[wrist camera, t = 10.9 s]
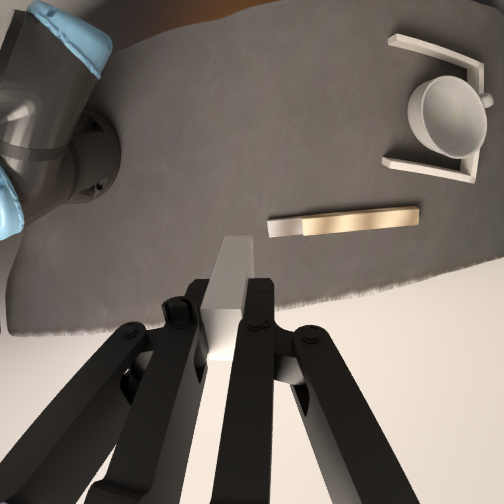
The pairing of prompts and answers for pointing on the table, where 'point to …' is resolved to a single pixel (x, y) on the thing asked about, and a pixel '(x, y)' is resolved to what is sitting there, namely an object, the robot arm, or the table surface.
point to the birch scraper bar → (343, 221)
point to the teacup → (449, 116)
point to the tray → (473, 79)
